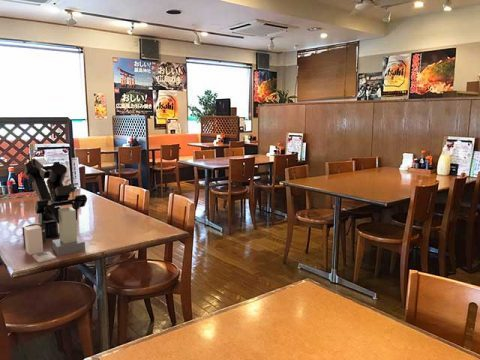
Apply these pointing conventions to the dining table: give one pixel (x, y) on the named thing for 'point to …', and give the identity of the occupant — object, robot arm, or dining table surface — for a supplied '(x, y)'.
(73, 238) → the sage block
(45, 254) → the plaque
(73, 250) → the slate base
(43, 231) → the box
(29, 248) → the white block
